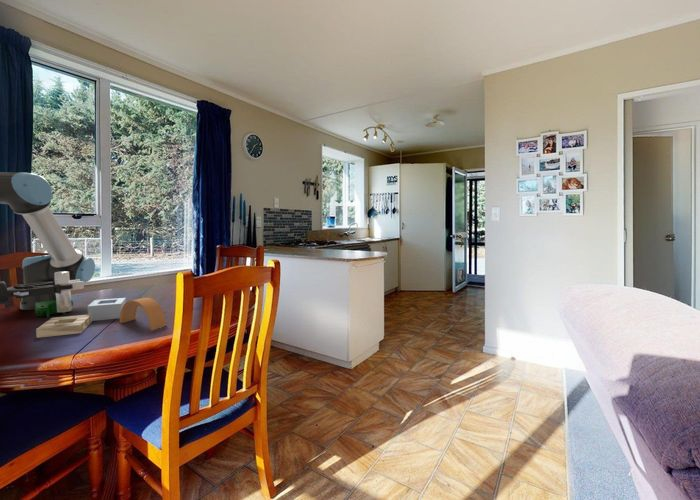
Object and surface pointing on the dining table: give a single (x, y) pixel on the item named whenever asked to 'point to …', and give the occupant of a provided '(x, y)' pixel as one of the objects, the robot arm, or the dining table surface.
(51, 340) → the dining table surface
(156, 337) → the dining table surface
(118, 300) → the slate holder block
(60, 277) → the steel axle
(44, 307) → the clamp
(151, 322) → the arch
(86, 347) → the dining table surface
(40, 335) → the birch block
